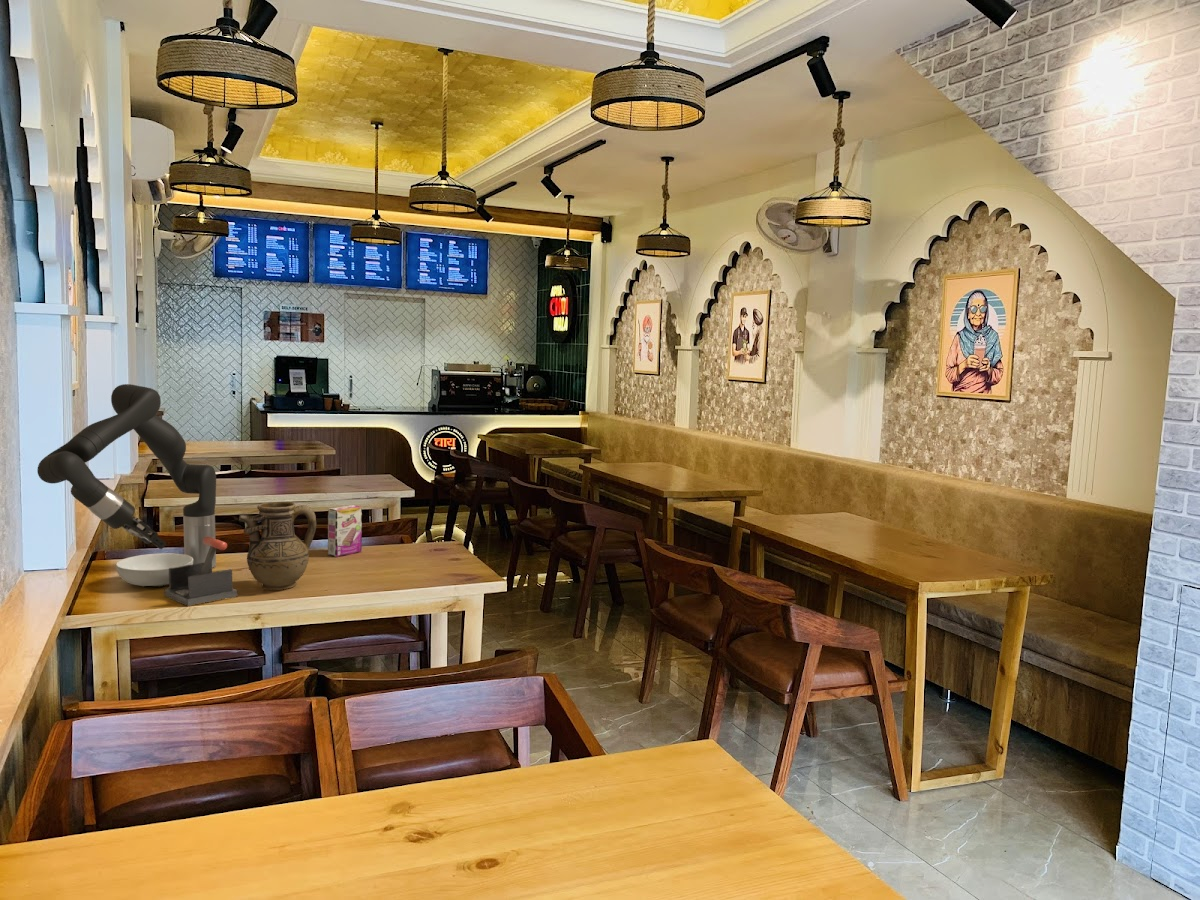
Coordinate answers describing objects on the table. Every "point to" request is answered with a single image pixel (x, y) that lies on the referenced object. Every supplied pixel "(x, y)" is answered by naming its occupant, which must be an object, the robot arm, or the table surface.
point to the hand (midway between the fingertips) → (157, 543)
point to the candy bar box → (344, 530)
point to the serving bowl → (150, 568)
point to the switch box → (199, 584)
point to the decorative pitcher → (278, 544)
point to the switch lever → (211, 551)
